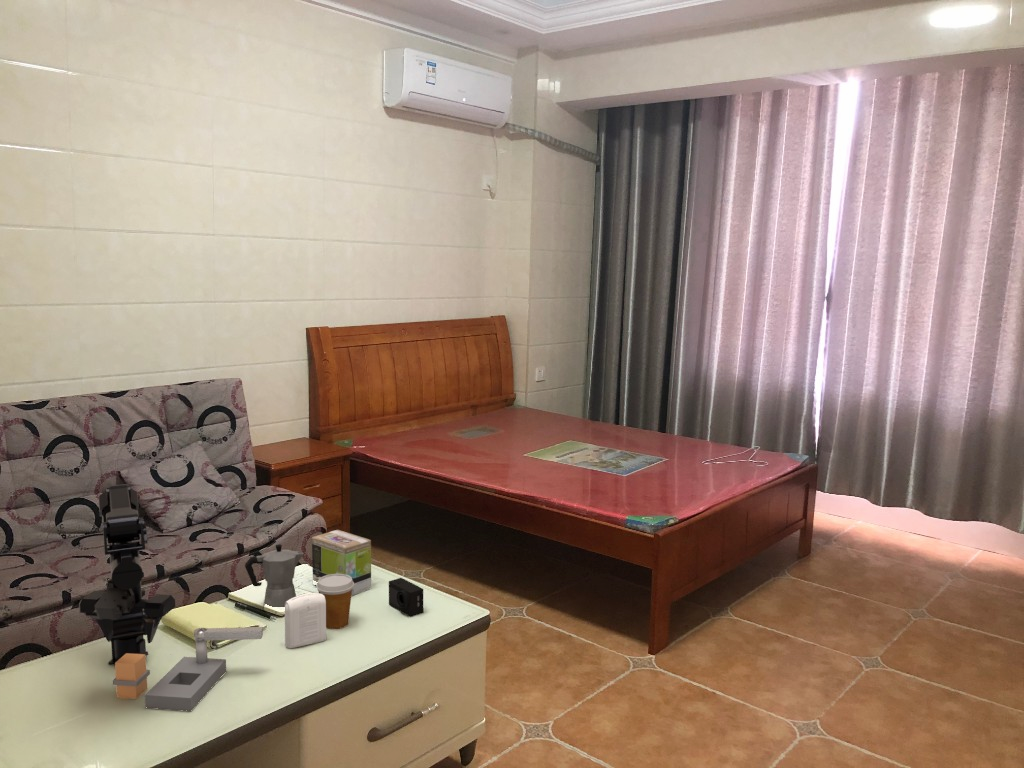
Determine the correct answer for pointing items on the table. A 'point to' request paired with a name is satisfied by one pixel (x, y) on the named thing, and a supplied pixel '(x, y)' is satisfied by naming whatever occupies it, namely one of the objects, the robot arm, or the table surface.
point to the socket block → (186, 681)
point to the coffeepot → (276, 574)
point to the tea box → (343, 558)
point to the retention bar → (228, 633)
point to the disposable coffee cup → (336, 598)
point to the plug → (131, 675)
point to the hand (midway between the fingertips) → (129, 641)
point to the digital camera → (406, 597)
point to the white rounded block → (305, 620)
